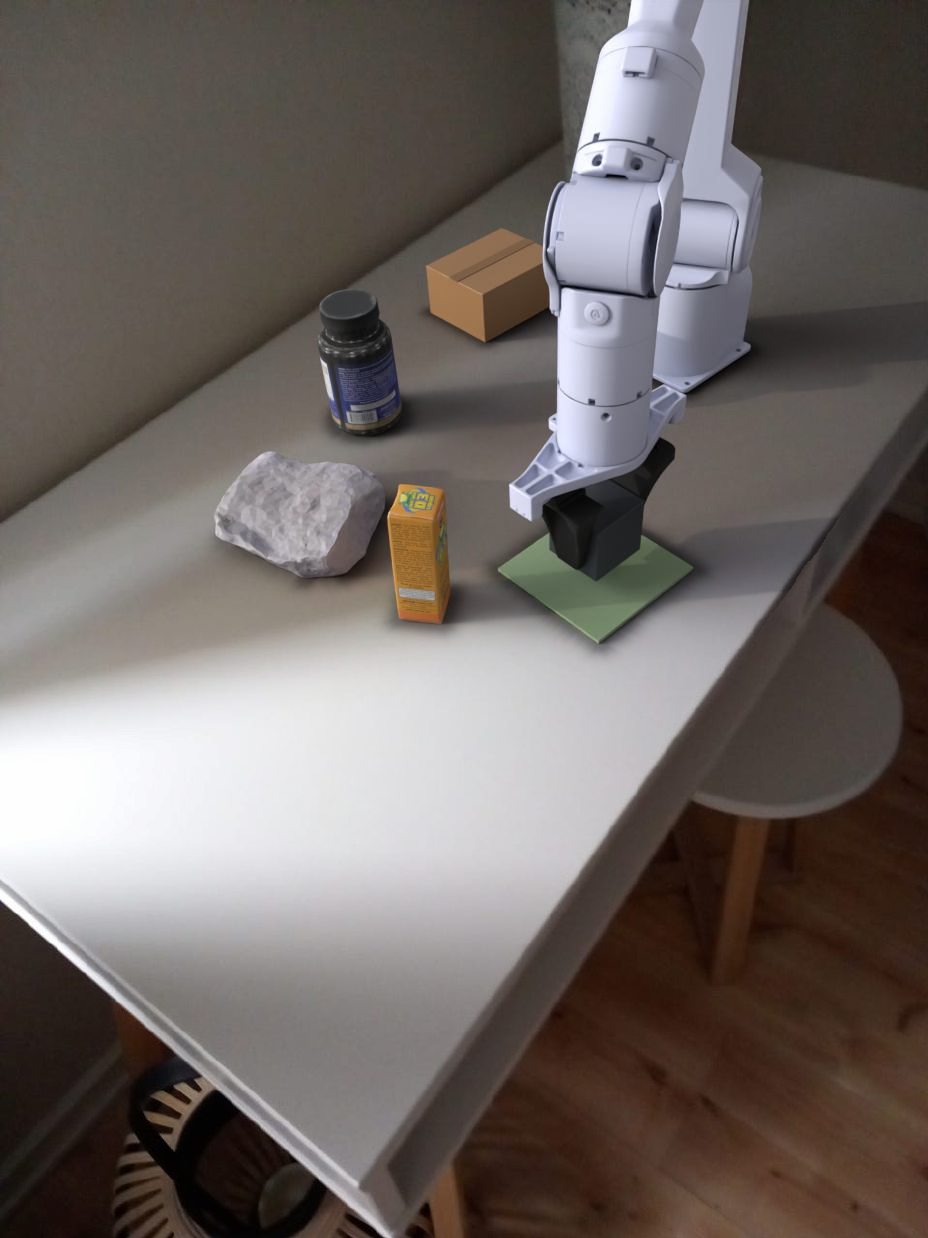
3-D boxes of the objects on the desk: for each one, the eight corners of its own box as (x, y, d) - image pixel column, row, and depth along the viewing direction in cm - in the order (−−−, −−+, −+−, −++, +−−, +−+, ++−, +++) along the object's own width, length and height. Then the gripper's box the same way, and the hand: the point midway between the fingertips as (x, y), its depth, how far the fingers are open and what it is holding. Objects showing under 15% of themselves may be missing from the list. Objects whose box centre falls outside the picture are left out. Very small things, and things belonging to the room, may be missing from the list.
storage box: (504, 273, 100) (502, 226, 97) (559, 301, 96) (560, 252, 92) (430, 312, 96) (425, 265, 92) (484, 343, 92) (482, 294, 88)
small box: (592, 519, 72) (595, 470, 68) (640, 549, 69) (645, 500, 66) (548, 550, 70) (548, 501, 66) (596, 582, 67) (598, 533, 64)
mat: (591, 505, 76) (591, 503, 75) (693, 569, 70) (693, 566, 70) (497, 571, 71) (497, 568, 71) (598, 644, 66) (598, 641, 66)
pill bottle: (416, 408, 86) (402, 293, 77) (375, 446, 82) (356, 331, 74) (360, 389, 88) (341, 276, 80) (318, 426, 85) (294, 312, 77)
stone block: (351, 602, 73) (396, 498, 77) (333, 566, 69) (382, 458, 73) (214, 574, 76) (265, 476, 81) (189, 538, 72) (245, 437, 77)
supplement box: (445, 626, 68) (433, 520, 61) (398, 621, 69) (380, 515, 61) (455, 592, 70) (445, 485, 63) (409, 587, 71) (393, 481, 64)
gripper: (634, 308, 64) (622, 470, 74) (471, 404, 58) (482, 566, 68) (721, 348, 60) (696, 513, 70) (556, 455, 54) (554, 619, 64)
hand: (596, 542), depth 69 cm, fingers closed on small box, 4 cm apart
